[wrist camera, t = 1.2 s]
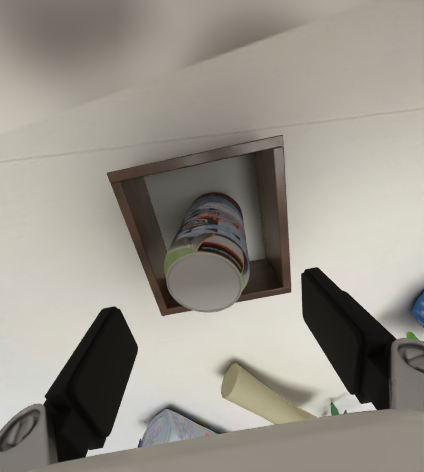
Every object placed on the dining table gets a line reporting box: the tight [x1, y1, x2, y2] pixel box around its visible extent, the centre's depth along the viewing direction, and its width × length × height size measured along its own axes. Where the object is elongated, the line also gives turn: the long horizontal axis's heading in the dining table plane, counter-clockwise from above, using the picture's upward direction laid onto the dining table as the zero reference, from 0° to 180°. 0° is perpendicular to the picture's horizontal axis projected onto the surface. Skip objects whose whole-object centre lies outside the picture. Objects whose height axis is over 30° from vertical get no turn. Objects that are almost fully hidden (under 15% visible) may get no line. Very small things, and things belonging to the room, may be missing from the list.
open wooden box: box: [107, 135, 291, 316], centre depth 20 cm, size 15×14×6 cm
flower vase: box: [221, 363, 348, 425], centre depth 34 cm, size 12×12×35 cm
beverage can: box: [164, 193, 250, 312], centre depth 18 cm, size 6×7×12 cm
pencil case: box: [138, 409, 216, 448], centre depth 35 cm, size 21×9×10 cm, turn 47°
